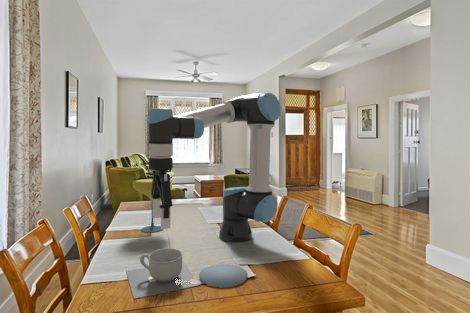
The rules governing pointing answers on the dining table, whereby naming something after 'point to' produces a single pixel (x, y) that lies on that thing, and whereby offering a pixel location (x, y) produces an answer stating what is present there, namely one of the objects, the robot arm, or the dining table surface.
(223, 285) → the coaster
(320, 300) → the dining table surface
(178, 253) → the teacup
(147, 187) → the cocktail glass
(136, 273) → the card
